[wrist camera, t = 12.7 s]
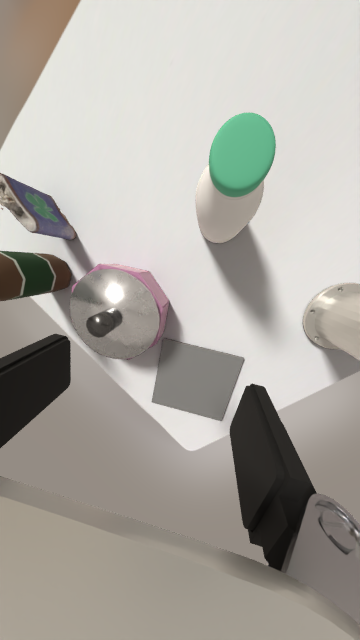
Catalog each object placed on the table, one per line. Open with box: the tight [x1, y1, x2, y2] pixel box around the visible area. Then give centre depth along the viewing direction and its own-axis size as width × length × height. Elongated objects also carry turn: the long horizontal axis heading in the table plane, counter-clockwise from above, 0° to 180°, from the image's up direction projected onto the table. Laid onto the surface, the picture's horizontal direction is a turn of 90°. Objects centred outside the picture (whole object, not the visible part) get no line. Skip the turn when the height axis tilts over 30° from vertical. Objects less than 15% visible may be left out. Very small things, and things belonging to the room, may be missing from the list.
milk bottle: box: [195, 113, 276, 243], centre depth 22 cm, size 8×8×20 cm
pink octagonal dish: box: [72, 264, 169, 360], centre depth 36 cm, size 17×17×6 cm
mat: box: [152, 338, 244, 421], centre depth 42 cm, size 18×18×1 cm
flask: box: [0, 173, 76, 240], centre depth 30 cm, size 9×3×11 cm, turn 32°
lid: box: [70, 269, 160, 359], centre depth 30 cm, size 17×17×6 cm
